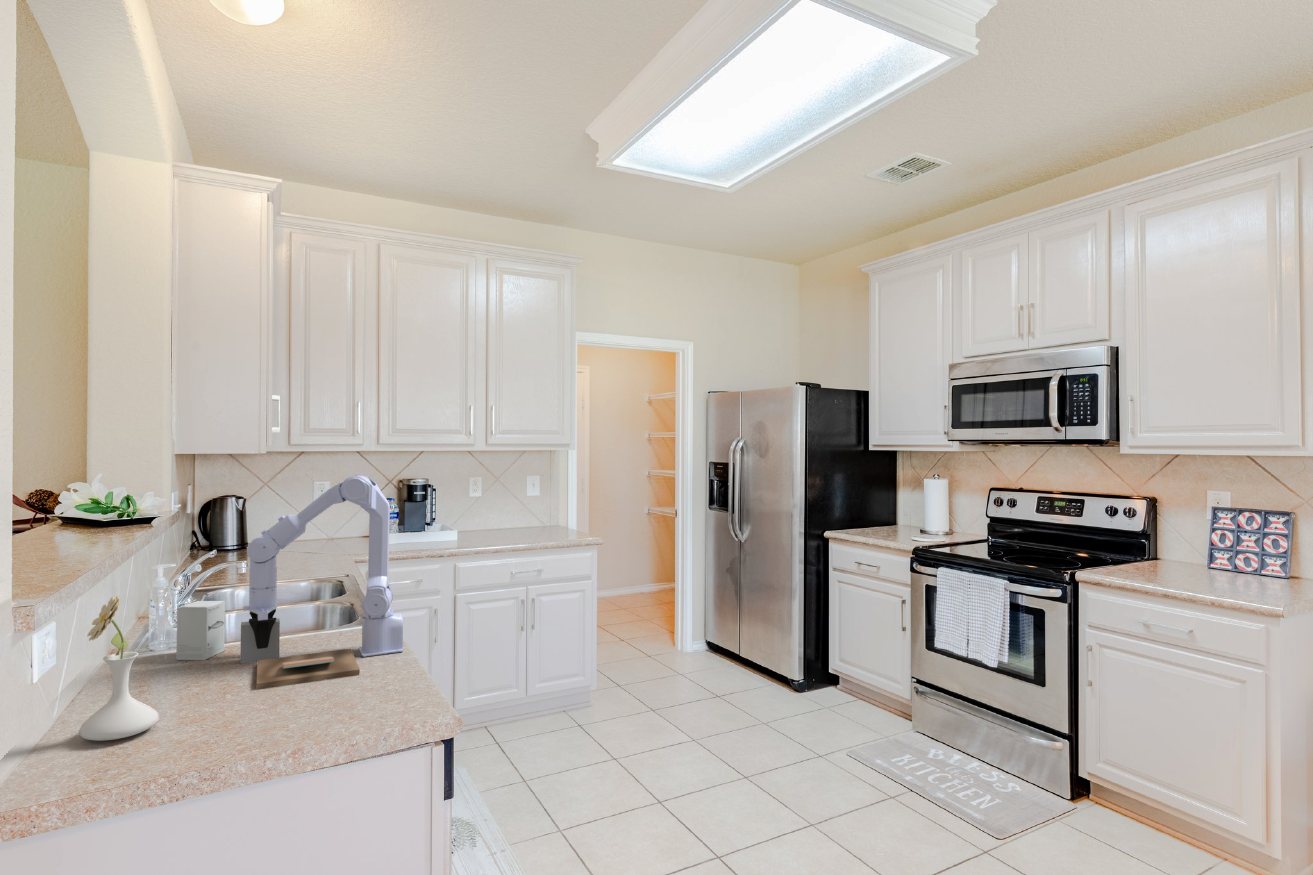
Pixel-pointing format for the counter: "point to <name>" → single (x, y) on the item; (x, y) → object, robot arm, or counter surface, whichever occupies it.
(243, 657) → the grey rectangular block
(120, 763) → the counter surface
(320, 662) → the tile
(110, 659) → the flower in vase
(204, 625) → the supplement box
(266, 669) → the board
